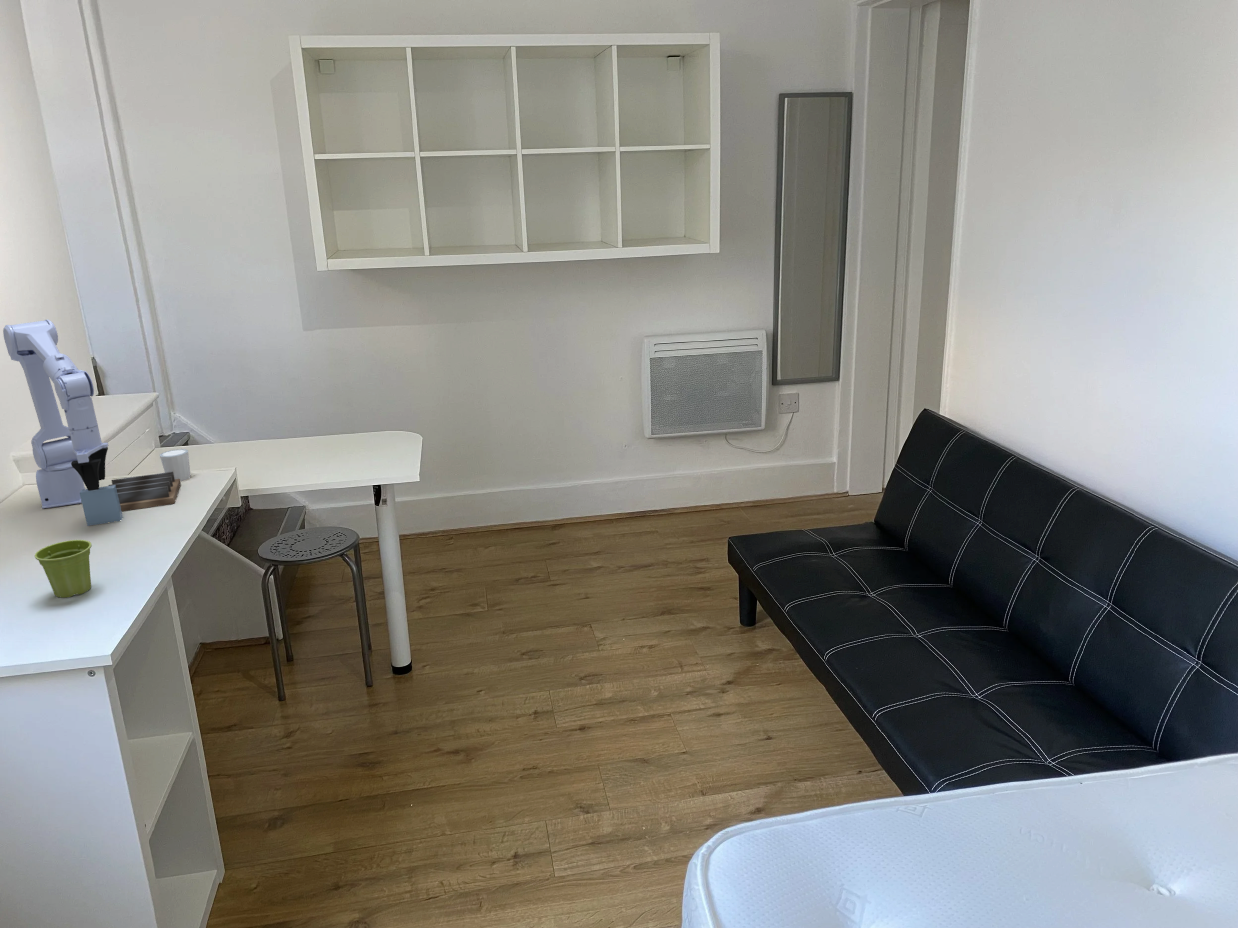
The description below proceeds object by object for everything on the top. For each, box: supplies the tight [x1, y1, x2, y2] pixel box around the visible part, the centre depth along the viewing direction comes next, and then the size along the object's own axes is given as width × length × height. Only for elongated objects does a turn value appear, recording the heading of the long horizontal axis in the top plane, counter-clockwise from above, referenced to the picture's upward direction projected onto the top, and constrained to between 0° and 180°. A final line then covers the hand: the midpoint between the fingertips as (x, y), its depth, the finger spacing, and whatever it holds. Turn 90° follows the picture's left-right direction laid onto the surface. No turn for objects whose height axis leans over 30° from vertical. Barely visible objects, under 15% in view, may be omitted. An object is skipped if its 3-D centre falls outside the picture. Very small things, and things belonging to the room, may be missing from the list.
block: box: [80, 485, 124, 527], centre depth 214 cm, size 7×2×8 cm, turn 109°
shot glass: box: [159, 448, 192, 482], centre depth 243 cm, size 7×7×7 cm
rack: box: [107, 472, 182, 512], centre depth 229 cm, size 16×16×4 cm
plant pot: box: [34, 539, 93, 598], centre depth 177 cm, size 9×9×9 cm
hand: (96, 484), depth 212 cm, fingers open, 7 cm apart
